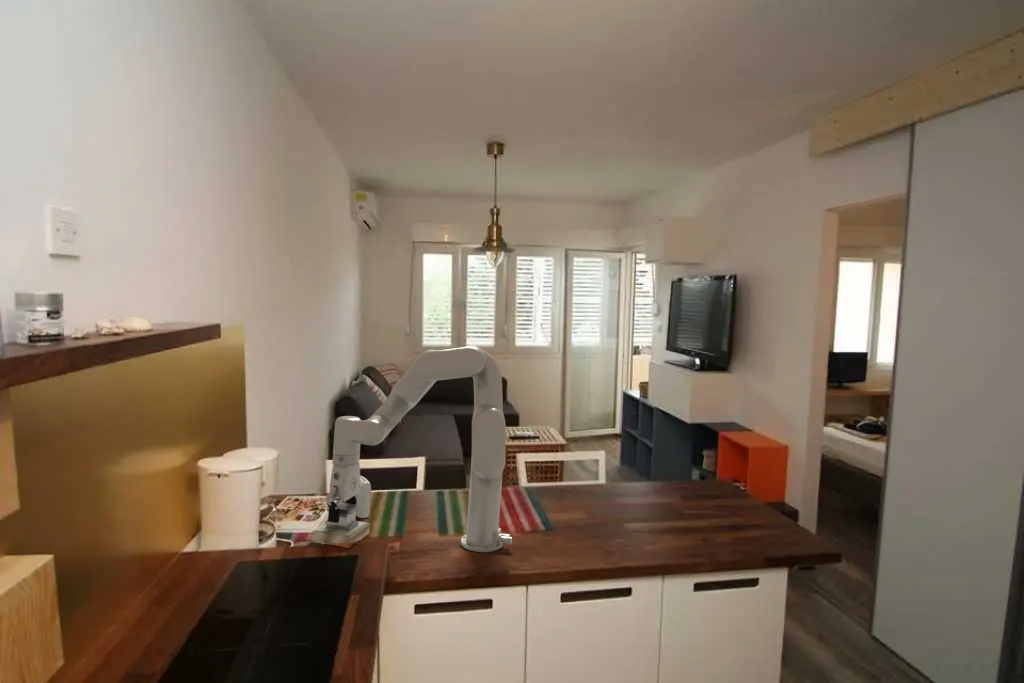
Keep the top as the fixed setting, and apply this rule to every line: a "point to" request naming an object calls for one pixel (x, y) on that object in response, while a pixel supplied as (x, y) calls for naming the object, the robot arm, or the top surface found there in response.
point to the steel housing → (345, 517)
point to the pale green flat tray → (339, 534)
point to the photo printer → (363, 498)
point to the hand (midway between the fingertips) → (342, 516)
